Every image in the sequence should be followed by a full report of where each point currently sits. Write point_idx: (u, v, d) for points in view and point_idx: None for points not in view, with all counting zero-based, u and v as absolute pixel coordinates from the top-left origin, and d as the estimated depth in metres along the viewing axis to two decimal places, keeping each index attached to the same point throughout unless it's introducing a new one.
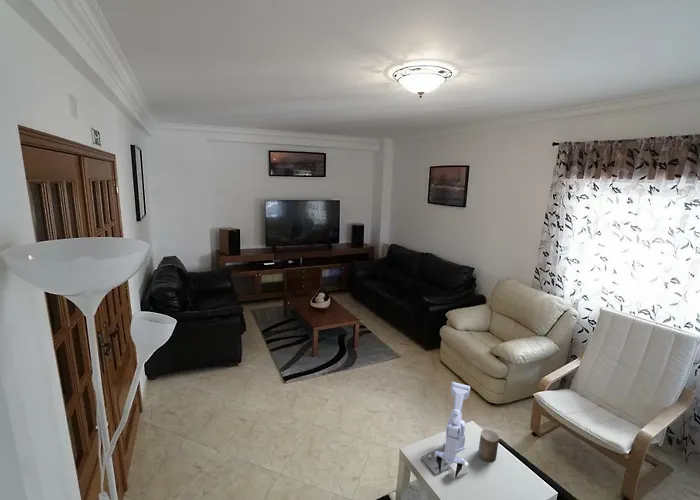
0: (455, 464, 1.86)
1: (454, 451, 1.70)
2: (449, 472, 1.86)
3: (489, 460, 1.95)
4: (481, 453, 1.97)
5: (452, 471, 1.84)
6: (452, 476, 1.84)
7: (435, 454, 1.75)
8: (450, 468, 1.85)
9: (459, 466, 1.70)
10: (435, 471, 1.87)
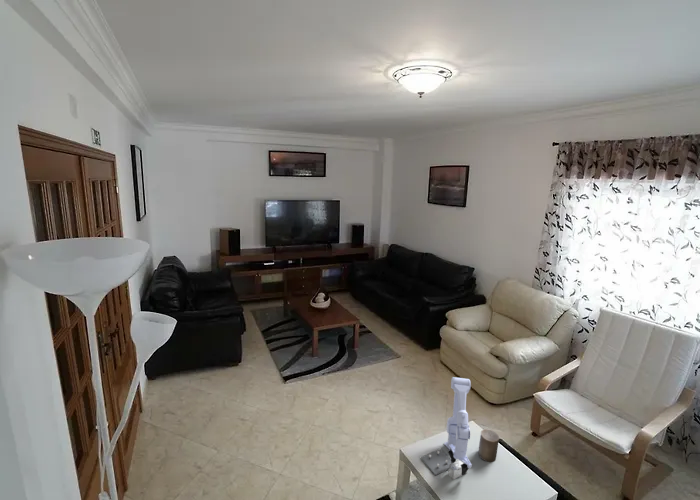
0: (455, 464, 1.86)
1: (465, 450, 1.81)
2: (449, 472, 1.86)
3: (489, 460, 1.95)
4: (481, 453, 1.97)
5: (452, 471, 1.84)
6: (452, 476, 1.84)
7: (449, 446, 1.90)
8: (450, 468, 1.85)
9: (464, 465, 1.80)
10: (435, 471, 1.87)
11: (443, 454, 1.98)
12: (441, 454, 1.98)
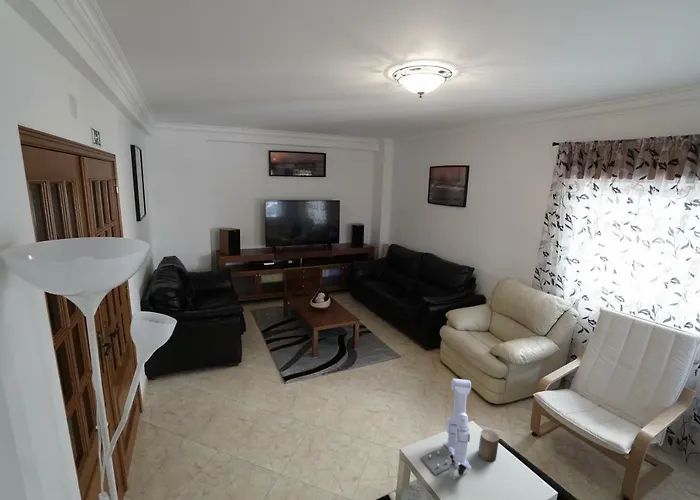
0: (455, 464, 1.86)
1: (465, 453, 1.81)
2: (449, 472, 1.86)
3: (489, 460, 1.95)
4: (481, 453, 1.97)
5: (452, 470, 1.84)
6: (452, 476, 1.84)
7: (449, 449, 1.91)
8: (450, 468, 1.85)
9: (461, 466, 1.82)
10: (435, 471, 1.87)
11: (443, 454, 1.98)
12: (441, 454, 1.98)
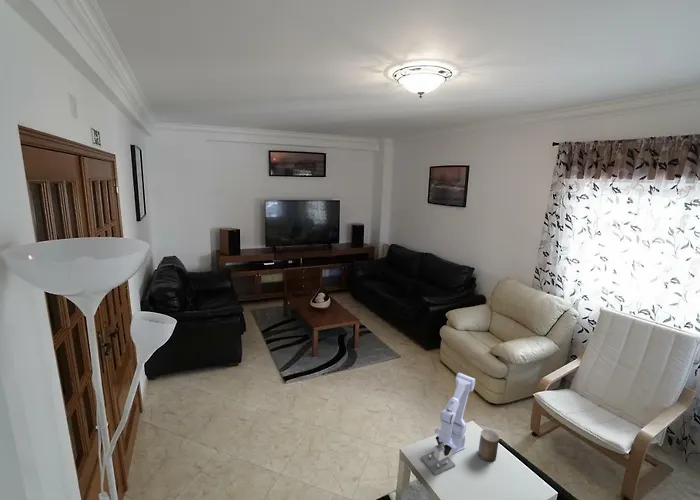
0: (441, 446, 1.89)
1: (447, 434, 1.84)
2: (435, 453, 1.89)
3: (489, 460, 1.95)
4: (481, 453, 1.97)
5: (437, 452, 1.87)
6: (438, 457, 1.87)
7: (435, 430, 1.94)
8: (436, 449, 1.88)
9: (446, 446, 1.85)
10: (435, 471, 1.87)
11: None
12: None
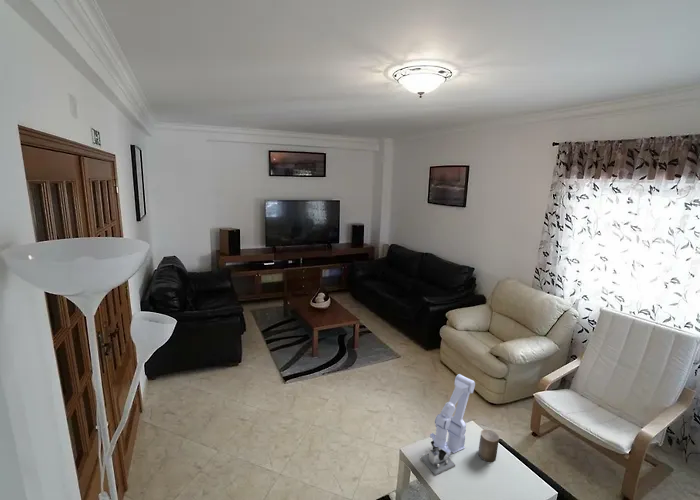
0: (436, 450, 1.92)
1: (441, 439, 1.87)
2: (430, 458, 1.92)
3: (489, 460, 1.95)
4: (481, 453, 1.97)
5: (432, 456, 1.90)
6: (432, 462, 1.90)
7: (430, 435, 1.96)
8: (431, 454, 1.91)
9: (441, 451, 1.87)
10: (435, 471, 1.87)
11: None
12: None
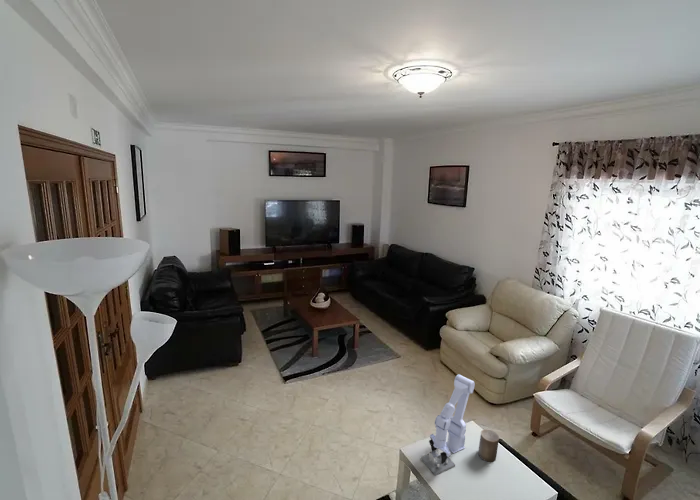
0: (435, 452, 1.92)
1: (441, 440, 1.87)
2: (430, 459, 1.92)
3: (489, 460, 1.95)
4: (481, 453, 1.97)
5: (432, 458, 1.90)
6: (432, 463, 1.90)
7: (430, 436, 1.96)
8: (430, 455, 1.91)
9: (443, 454, 1.86)
10: (435, 471, 1.87)
11: None
12: None
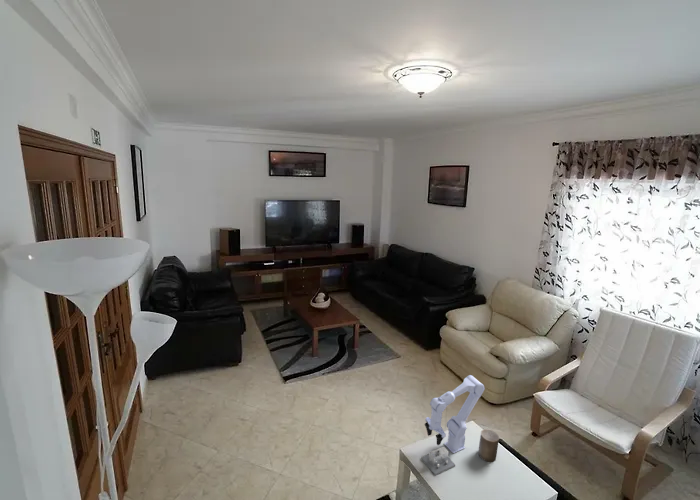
0: (435, 452, 1.92)
1: (434, 421, 1.92)
2: (430, 459, 1.92)
3: (489, 460, 1.95)
4: (481, 453, 1.97)
5: (432, 458, 1.90)
6: (432, 463, 1.90)
7: (425, 419, 2.01)
8: (430, 455, 1.91)
9: (438, 436, 1.91)
10: (435, 471, 1.87)
11: None
12: None
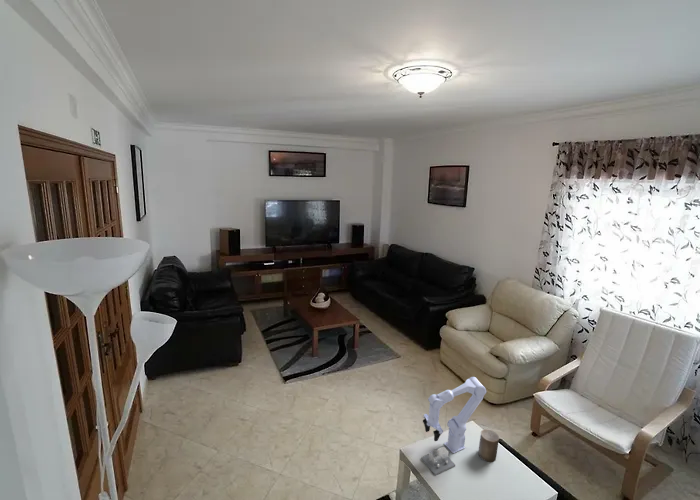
0: (435, 452, 1.92)
1: (431, 417, 1.95)
2: (430, 459, 1.92)
3: (489, 460, 1.95)
4: (481, 453, 1.97)
5: (432, 458, 1.90)
6: (432, 463, 1.90)
7: None
8: (430, 455, 1.91)
9: (436, 432, 1.93)
10: (435, 471, 1.87)
11: None
12: None
